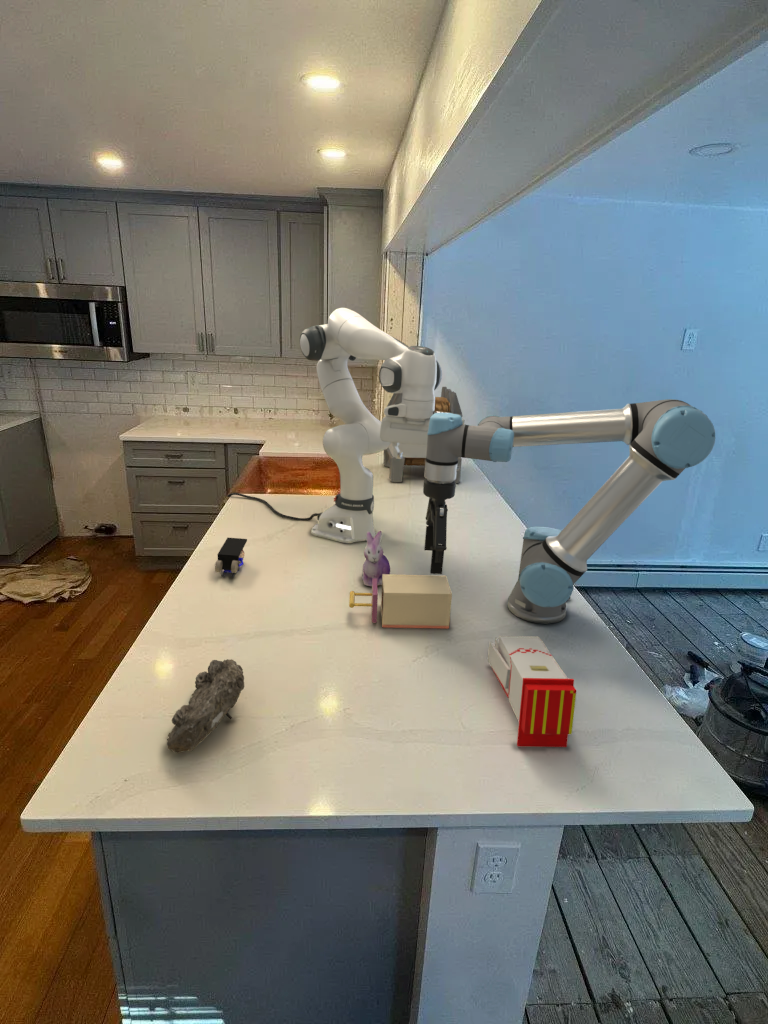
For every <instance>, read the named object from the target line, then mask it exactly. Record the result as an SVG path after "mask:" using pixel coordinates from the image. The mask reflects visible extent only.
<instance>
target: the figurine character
mask: <svg viewBox="0 0 768 1024" xmlns="http://www.w3.org/2000/svg"><path fill="white" fill-rule="evenodd" d="M247 542H248V538H240V537H226V539H225V541H224V543H223V544H222V546H221V547H220V549H219V551H218V552H217V560H216V562H215V564H214V572H215V573H221V577H222V578H224V577H225V576H226V574H227V573H230V574H231V573H232V574H231V578H234V577H235V575H236V573H237V572H239V571H240V567H242V566H243V565H244V564H245V562H244V558H245V551H244V547H245V546H246V544H247Z"/></svg>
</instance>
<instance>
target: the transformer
mask: <svg viewBox="0 0 768 1024" xmlns="http://www.w3.org/2000/svg"><path fill="white" fill-rule="evenodd" d="M440 393H441V394H440V396H435V410H434V411H438V412H445V413H446V412H449V413H452V414H458V415H460V416H461V417H462V422H463V424H465V419H464V418H463V411H462V408H461V405H460V402H459V398H458V395H457V392H455V391H453V390H452V389H451V388H447V386H442V387H441V392H440ZM402 396H403V394H402V393H395V394H394V393H392V395H391V398H390V400H389V402H388V404H387V405H386V407H388V406H390V405H394V404H396V403H401V402H402ZM398 448H399V450H400V452H403V454H402V456H403V457H402V459H396V453H395V451H394V449H393V447H392V442H391V443H390V446H389V447H388V448H387V449H385V450H383V466H384V467H388V468H389V475H388V476H389V477H388V478H389V480H390V482H391V483H402V482H403V475H404V469H405V466H406V467H407V466H411V467H412V466H413V467H415V466H416V467H417V466H418V467H425V460H426V452H427V446H423V445H413V444H403V443H399V445H398ZM462 461H463V460H462V457H458V463H457V466H459V468H460V469H459V470H456V472H457V474H456V479H455V480H454V481H455V482H456V484H459V483H461V472H462Z"/></svg>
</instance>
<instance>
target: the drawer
mask: <svg viewBox="0 0 768 1024" xmlns="http://www.w3.org/2000/svg"><path fill="white" fill-rule="evenodd" d="M378 590H379V589H378V586H377V578H372V586H371V592H355V591H354V590H351V591H350V592H349V597H348V598H349V599H348V601H349V602H348V606H349V608H351V609H353V608H355V607H368V608H369V607H370V609H371V623H373V624H375V623H377V622H378V600H379V591H378ZM381 595H382V602H381V601H380V609H381V608H382V616H381V618H382V617H383V596H384V593H383V581H382V585H381ZM357 596H358V597H371V600H370V601H371V602H369V603H368V602H367V603H366V602H355V601H356V600H355V597H357Z"/></svg>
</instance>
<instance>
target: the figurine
mask: <svg viewBox="0 0 768 1024" xmlns="http://www.w3.org/2000/svg"><path fill="white" fill-rule="evenodd" d="M382 536H383V532H382V530H379V531H378V532H376V535H375V537H372V535H371V533H370V532H367V534H366V538H367V540H366V545H365V548H364V550H363V556H364V559H365V560H364V562H363V564H362V577H361V580H362V581H363V585H364V586H368V587H372V578H377V587H378V586H382V574H391V565H390V560H389V559H388V557H387V556H386V555H385V554H384V550H383V547H382V546H381V541H382Z"/></svg>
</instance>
